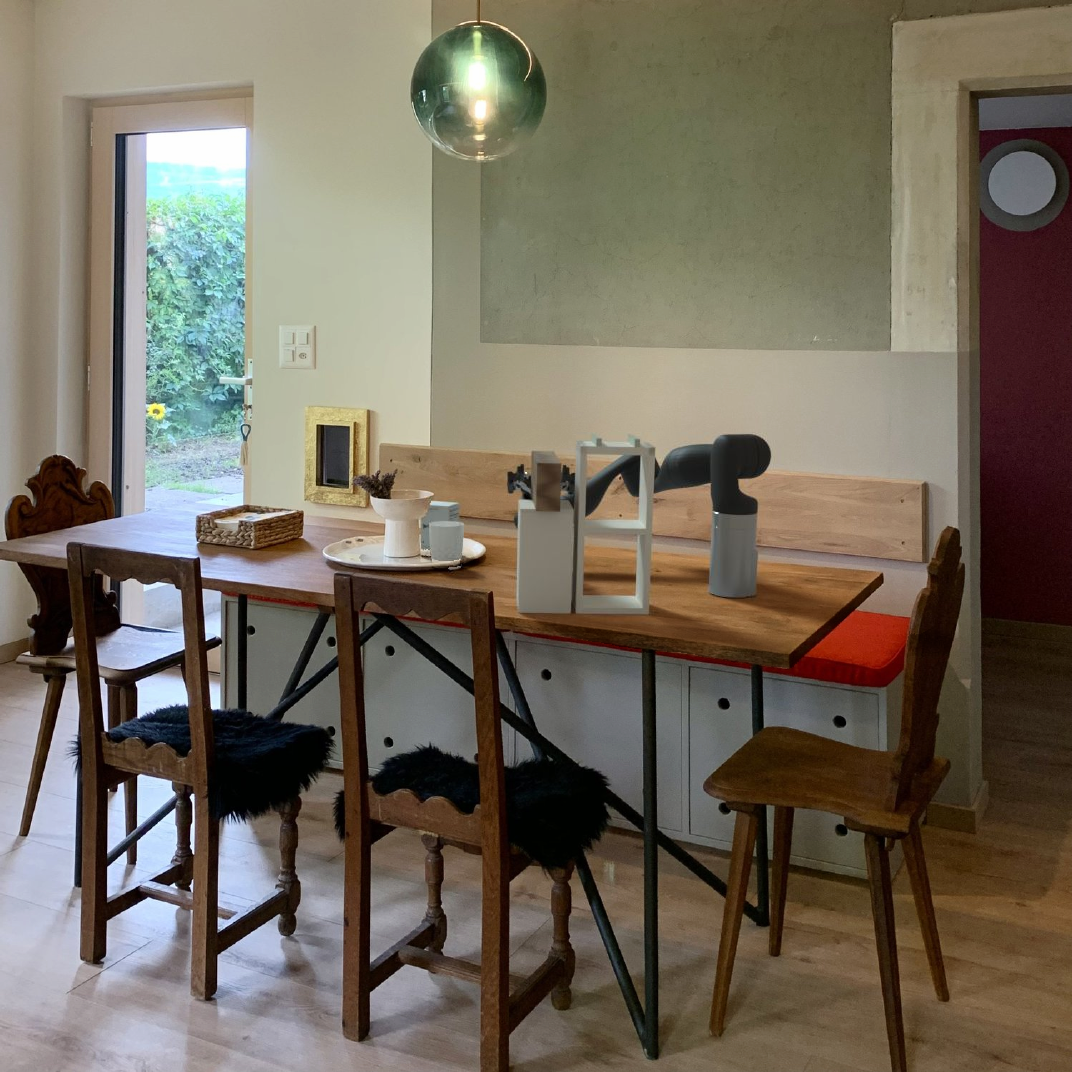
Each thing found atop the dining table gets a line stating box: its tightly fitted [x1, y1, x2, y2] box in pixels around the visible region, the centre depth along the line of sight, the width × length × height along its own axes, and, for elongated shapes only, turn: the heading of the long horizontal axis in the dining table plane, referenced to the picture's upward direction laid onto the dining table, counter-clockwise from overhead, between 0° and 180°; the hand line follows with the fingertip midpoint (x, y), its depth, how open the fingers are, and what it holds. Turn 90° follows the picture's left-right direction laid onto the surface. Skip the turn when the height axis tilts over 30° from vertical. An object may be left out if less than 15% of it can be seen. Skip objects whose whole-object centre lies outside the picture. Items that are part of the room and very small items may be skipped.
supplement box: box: [420, 500, 461, 550], centre depth 285 cm, size 7×7×13 cm
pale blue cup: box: [429, 521, 465, 571], centre depth 270 cm, size 8×8×10 cm
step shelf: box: [516, 433, 656, 615], centre depth 232 cm, size 25×13×34 cm, turn 93°
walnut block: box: [530, 450, 563, 512], centre depth 233 cm, size 4×24×9 cm, turn 3°
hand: (543, 468), depth 239 cm, fingers open, 8 cm apart
